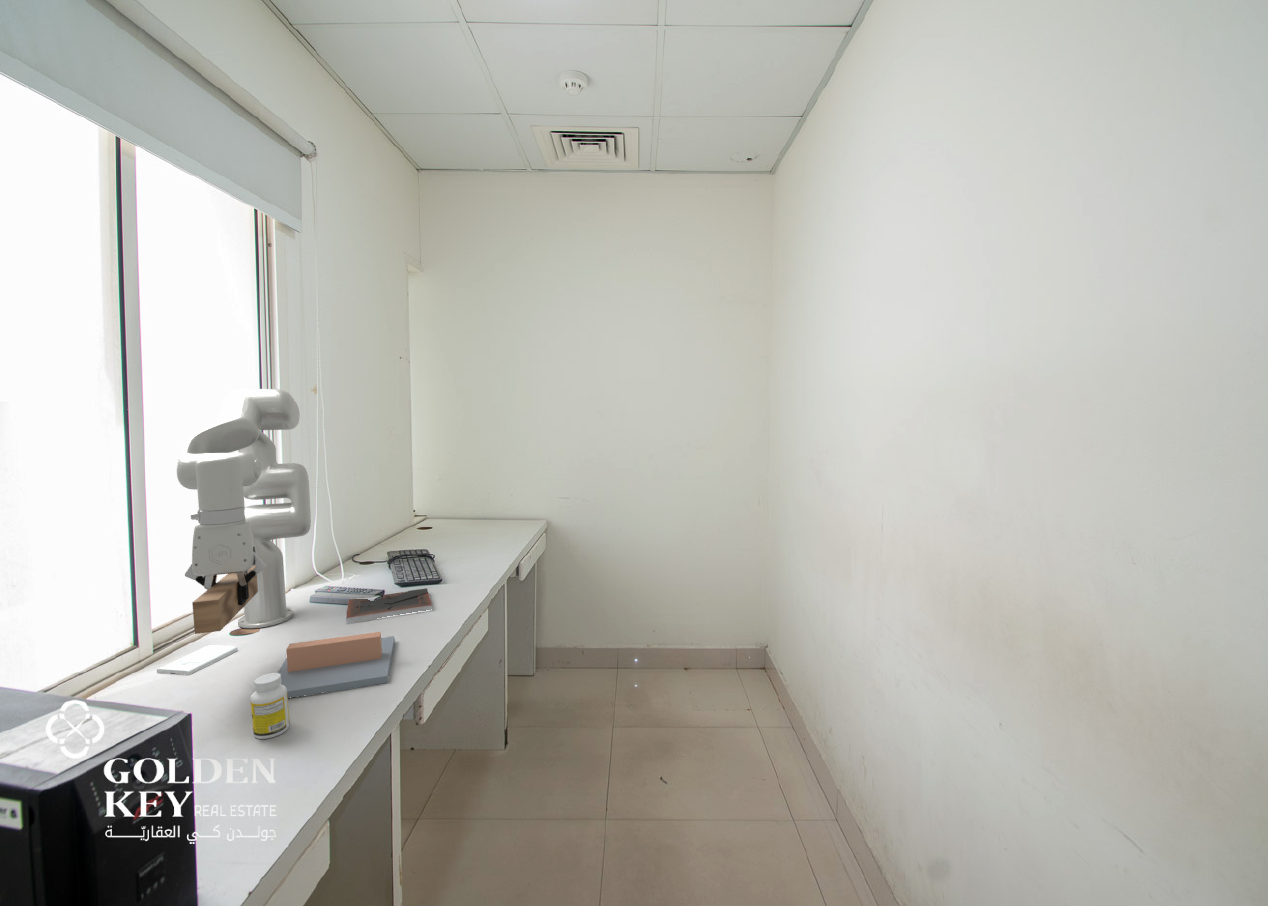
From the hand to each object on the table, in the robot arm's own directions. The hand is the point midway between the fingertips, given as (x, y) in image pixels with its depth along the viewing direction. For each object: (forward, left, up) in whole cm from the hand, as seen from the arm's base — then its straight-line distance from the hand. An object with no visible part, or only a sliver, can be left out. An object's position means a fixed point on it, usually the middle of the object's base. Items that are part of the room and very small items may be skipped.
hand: (229, 603), depth 116 cm
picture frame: (-38, +27, -18) cm, 50 cm away
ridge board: (0, +19, -17) cm, 26 cm away
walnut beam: (0, 0, -1) cm, 1 cm away
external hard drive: (-16, -11, -18) cm, 27 cm away
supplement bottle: (+23, +12, -17) cm, 31 cm away
